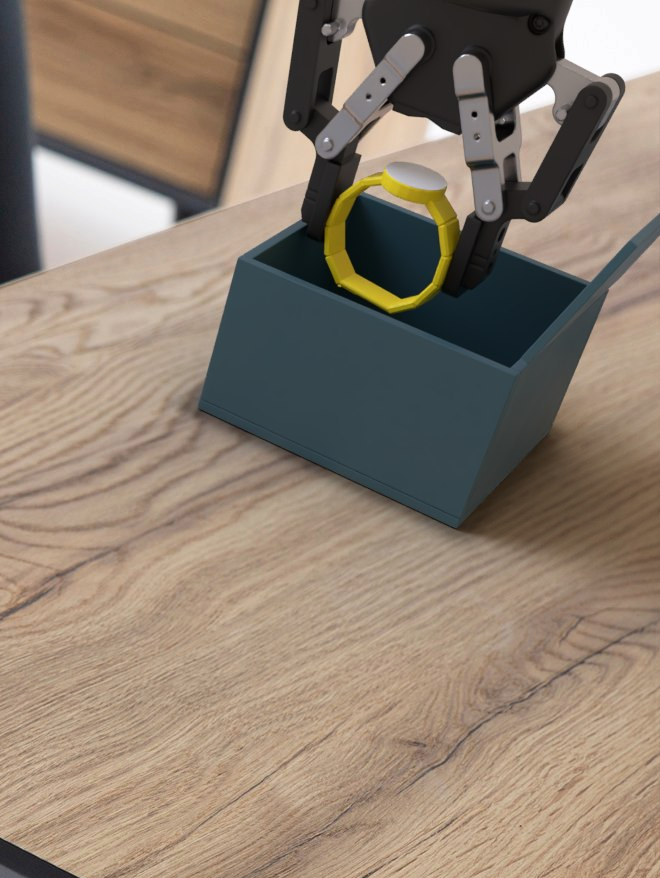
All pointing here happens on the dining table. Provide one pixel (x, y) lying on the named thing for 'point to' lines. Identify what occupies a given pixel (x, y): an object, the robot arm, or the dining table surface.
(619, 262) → the flap
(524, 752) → the dining table surface
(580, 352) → the carton
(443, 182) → the watch
